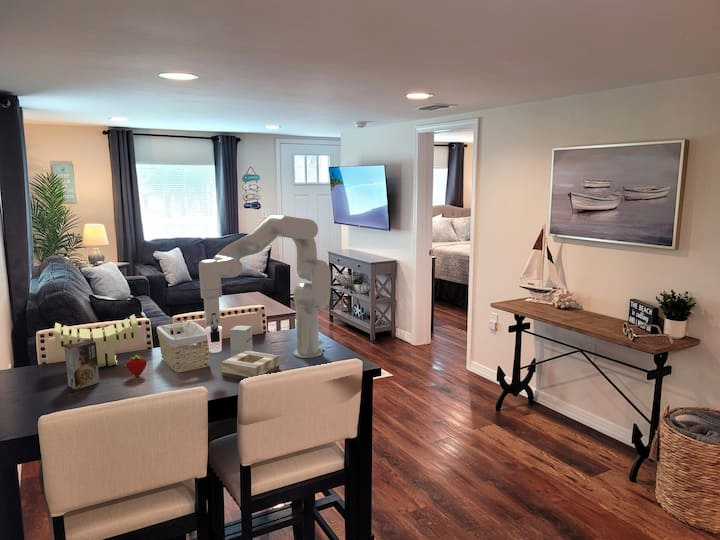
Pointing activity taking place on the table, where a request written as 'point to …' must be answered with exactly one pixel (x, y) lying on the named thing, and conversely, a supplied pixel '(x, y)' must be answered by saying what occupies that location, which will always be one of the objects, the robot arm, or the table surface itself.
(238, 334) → the supplement box
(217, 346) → the beverage cup
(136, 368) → the strawberry
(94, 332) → the slatted curved stool
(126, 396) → the table surface
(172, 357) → the storage basket
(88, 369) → the coffee box
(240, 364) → the socket block
